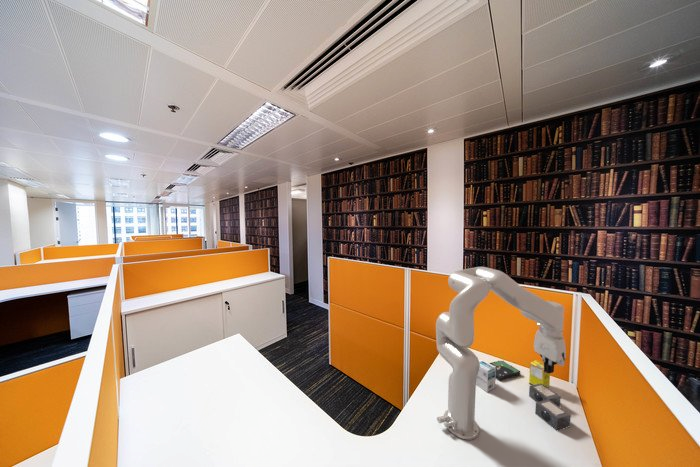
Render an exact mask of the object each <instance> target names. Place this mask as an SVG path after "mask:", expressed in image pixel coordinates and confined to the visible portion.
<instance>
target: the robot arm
mask: <svg viewBox="0 0 700 467" xmlns="http://www.w3.org/2000/svg"><path fill="white" fill-rule="evenodd" d="M447 283H448V286H449V287H450V289H451V290H453V291H454V292H457V293H458V294H456V296H454V298H453V299H452V300H451V302H450V304H449V310H448V311H444V312H441V313H440V314H439V315H438V317H437V319H436V322H435V335H436V337H435V338H436V349H437V352H438V354H439V355H440V357H442V358H443V359H444V361H446V362H447V363H448V364H449V365H450V366H451V368H452V372H451V373H449V377H448V392H447V393H448V395H447V396H448V398H447V410H445V412H444V413H443V416H437V417H436V420H437V423H438V424H442V423H443V425H444V427H445V428H446V429H447V430H448V431H449V433H450V432H451V433H452V435H454V436H456V437H458V438H460V439H463V440H473V439H476V438H477V437H478V436H479V433H480V430H479V425H478V423H477V421H476V420H475V419H476V418H475V415H476V413H475V412H476V410H475V409H476V391H477V385H476V379H477V375H478V372H479V368H480V363H479V360H478V358H479V357H478V356H477V355H476V354H475V353H474V352H473V351H472V350H471V349H470V347H472V346H473V344H474V340H475V322H474V321H475V320H474V319H475V318H474V317H475V316H474V315H475V310H476V308H477V307H478V305H479V304H480V303H482V302H483V301H484V300H485V299H486V298H487V297H488V295H489V293H490V291H491V292H492V293H494V295H497V296H498V297H499V298H501V299H502V300H503V301H505V302H506V303H507V304H509V305H510V306H512V307H514V308H516V309H518V310H519V311H520V313H521V315H522V316H523V317H524V318H526V319H529V320H531V321H532V322H535V323H537V324H536V325H537V327H539V328H538V329H537V330H536V333H535V336H534V342H533V349H534V351H535V352H536V354H538V355H539V356H540V357H541V362H542V363H544V371H545V372H547V373H548V374H549V373H550V374H553V373H554V372H555V365H557V366H560V367H564V366H565V361H566V358H567V356H566V354H567V351H566V341H565V337H564V336H563V335H564V334H563V333H564V332H563V331H564V322H565V319H564V314H565V309H564V306H563V305H562V304H561V303H558V302H555V301H550V300H545V299H544V298H541V297H540V296H538V295H537V294H534V293H533V292H532V291H530V290H527V289H526V288H524V287H522V286H521V285H520V284H518V282H516V281H515V280H514V279H512V278H511V277H510V276H509V275H508V274H506V273H505V272H503V271H502V270H500V269H499V270H498V269H494V268H490V267H486V266H476V267H471V268H465V269H459V270H456V271H454V272H452V273H451V274H450V275H448V279H447ZM477 357H478V358H477Z"/></svg>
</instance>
